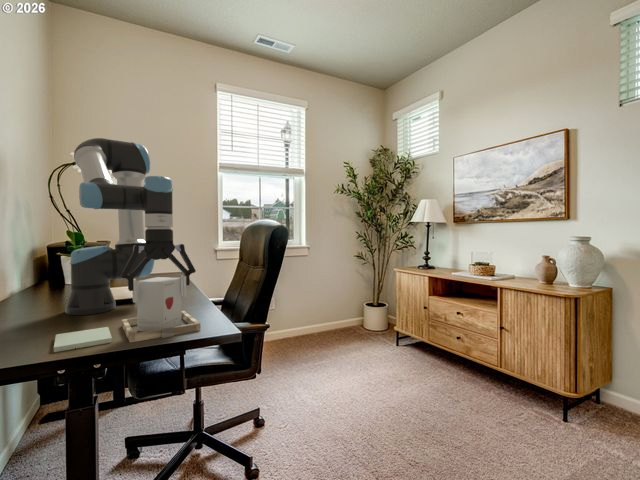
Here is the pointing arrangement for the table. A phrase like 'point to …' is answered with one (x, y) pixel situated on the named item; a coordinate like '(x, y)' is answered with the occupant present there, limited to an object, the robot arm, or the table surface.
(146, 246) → the robot arm
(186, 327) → the birch collar
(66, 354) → the table surface
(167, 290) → the supplement box
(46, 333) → the table surface
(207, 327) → the table surface
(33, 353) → the table surface
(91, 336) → the coaster pad
